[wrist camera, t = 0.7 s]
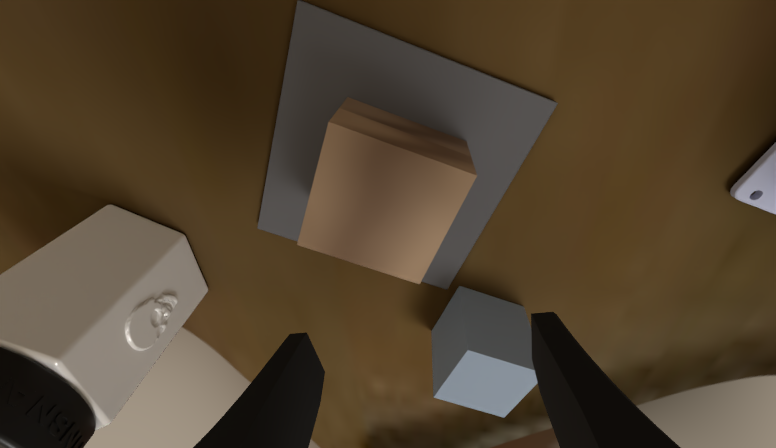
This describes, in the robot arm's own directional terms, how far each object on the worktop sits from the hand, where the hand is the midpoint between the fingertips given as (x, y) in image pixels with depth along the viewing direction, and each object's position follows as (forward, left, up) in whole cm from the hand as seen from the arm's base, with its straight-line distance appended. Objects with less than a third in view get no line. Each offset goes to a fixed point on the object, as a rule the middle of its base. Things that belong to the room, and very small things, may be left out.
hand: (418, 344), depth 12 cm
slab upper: (+2, -1, -7) cm, 8 cm away
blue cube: (-7, +7, -10) cm, 14 cm away
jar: (+15, +11, -10) cm, 21 cm away
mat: (+2, -1, -10) cm, 10 cm away
